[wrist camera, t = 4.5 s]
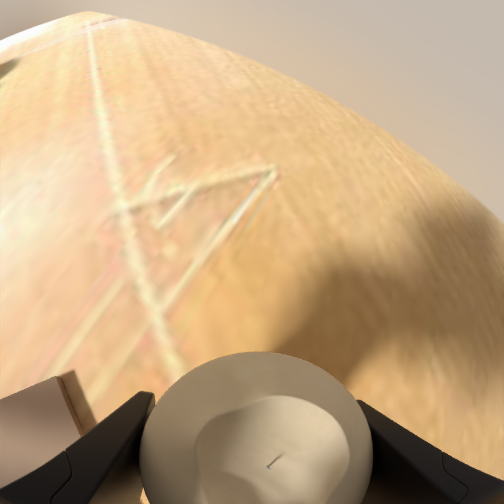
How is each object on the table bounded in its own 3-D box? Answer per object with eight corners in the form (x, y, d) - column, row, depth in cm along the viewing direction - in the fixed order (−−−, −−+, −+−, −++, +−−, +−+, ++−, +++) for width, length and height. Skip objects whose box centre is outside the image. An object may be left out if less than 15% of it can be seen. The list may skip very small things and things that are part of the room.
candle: (250, 516, 11) (314, 615, 3) (152, 456, 12) (70, 490, 4) (310, 428, 14) (440, 409, 6) (217, 370, 15) (233, 282, 7)
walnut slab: (167, 563, 12) (165, 568, 11) (17, 587, 7) (12, 591, 6) (61, 378, 17) (55, 376, 16) (-62, 428, 12) (-70, 427, 11)
